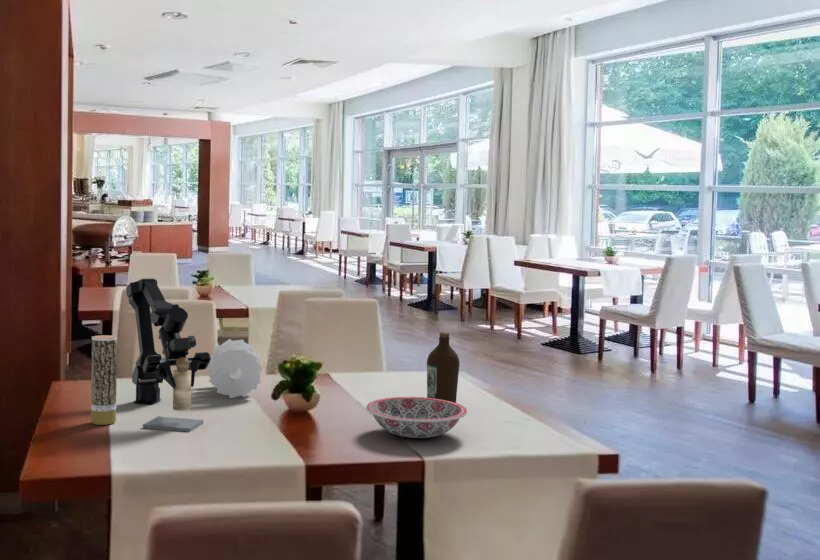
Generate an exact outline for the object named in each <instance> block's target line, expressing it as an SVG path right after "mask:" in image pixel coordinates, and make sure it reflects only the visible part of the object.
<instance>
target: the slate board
mask: <svg viewBox="0 0 820 560" xmlns="http://www.w3.org/2000/svg"><path fill="white" fill-rule="evenodd" d="M203 424H204V419H196V418H195V419H193V418H182V417H168V416H160V415H159V416H156V417H155V418H153V419H151V420H149V421H147V422H145V423H143V424H142V428H143V427H144V428H143V429H149V428H151V429H152V430H161V431H162V430H163V431H164V430H165V431H173V430H174V432H175V431H177V432H185V431H186V433H188V432H189V433H190V432H192V431H194V430H195V429H196V428H198V427H200V426H201V425H203Z"/></svg>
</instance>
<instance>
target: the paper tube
mask: <svg viewBox="0 0 820 560" xmlns="http://www.w3.org/2000/svg"><path fill="white" fill-rule="evenodd" d="M117 348H118V338H117V336H116V335H112V334H111V335H107V334H102V335H101V334H100V335H94V336H91V377H90V378H91V382H90V383H91V388H90V389H91V392H90V393H91V396H90V397H91V402H90V403H91V406H90V409H91V410H90V411H91V413H90V414H91V415H90V417H91V418H90V423H92V425H97V426H106V425H107V426H108V424H109V425H112V424H114V423H115V422H116V421H117V377H118V376H117V375H118V374H117V369H118V368H117V367H118V366H117V362H118V361H117V360H118V359H117V357H118V355H117V354H118V353H117V352H118V349H117Z"/></svg>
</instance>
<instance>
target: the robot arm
mask: <svg viewBox="0 0 820 560" xmlns="http://www.w3.org/2000/svg"><path fill="white" fill-rule="evenodd" d="M125 294H126V297H127V298H128V303H129V305H130V306H131V307H132V308H133V310H134V312H135V320H136V321H135V322H136V330H137V339H138V347H139V354H138V357H137V359H136V361H135V367H134V369H133V372H132V374H131V383H132V384H134V385H135V400H134V401H133V403H134V404H144V405H145V404H146V405H154V404H156V403H157V402H160V401H161V400H162V398H161V393H160V392H161V387H159V385H160V384H162V383H163V382H164V381H165V382H166V383H167V384H168V385H169V386H170V387H171V388H172V390H173V389H174V388H175V387H176V386H175V381H174V378H173V373H172V369H171V367H176V361H177V359H179V358H180V357H185V358H187V359H188V360H189V367H188V370H191V388H193V387H194V385H195V377H196V373H197V372H198V371H203V370H206V369H207V368H208V366H209V362H210V360H211V357H212V356H211V354H210V353H209V352H207V351H200V352H195V354H194V356H193V357H187V356H188V355H189V350H191V349H192V348H195V347H196V346H197V340H196V337H195V335H188V336H186V337H181V334H180V333H181V332H183V329H184V327H185V324H186V322H187V320H188V317H189V313H188V312H187V311H186V310H185V309H184V308H182V307H180V305H179V304H175V303H174V304H173V303H171V302H168V301H167V300H166V298H165V297H164V295H163V293H162V290H161V289H160V287H159V285H158V281H157V278H152V277H151V278H140V279H139V280H137V281H133V282H132V281H131V282H130V283H129V284H128V285H126V288H125ZM153 326H154V327H160V328H159V330H158V339H159V340H160V343H161V347H162V351H161V352H162V355H164V357H162V355H161V354H160V353H158V352H157V351H156V350H155V339H154V333H153V332H154V330H153Z"/></svg>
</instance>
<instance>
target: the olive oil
mask: <svg viewBox="0 0 820 560" xmlns="http://www.w3.org/2000/svg"><path fill="white" fill-rule="evenodd" d="M459 372H460V358H459V355H458V353H456V351H455V350H454V349H453V347H452V346H451V345H450V332H445V331H442V332H439V337H438V345H437V346H436V347H434V349H432V350H431V351H430V353H429V354H428V356H427V359H426V398H435V399H441V400H447V401H451V402H454V403H457V397H458V396H457V394H458V393H457V392H458V385H459V384H458V383H459Z"/></svg>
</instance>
